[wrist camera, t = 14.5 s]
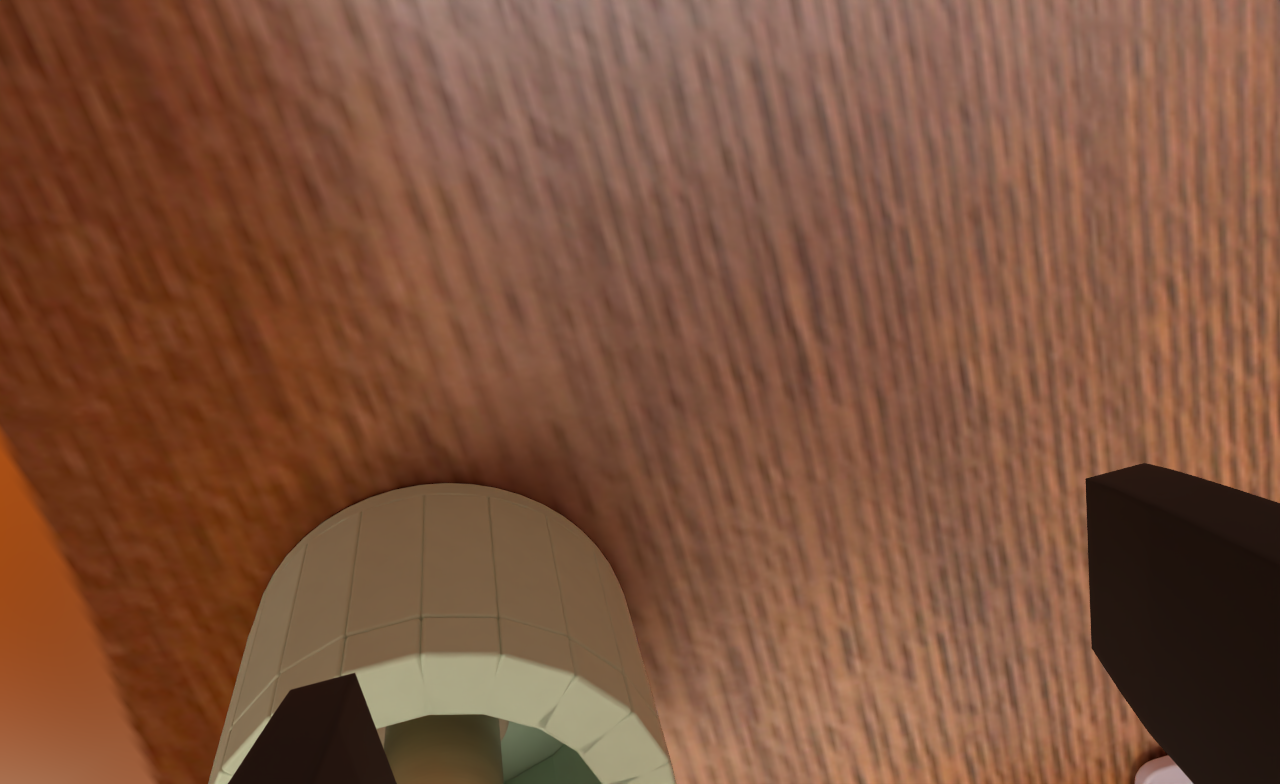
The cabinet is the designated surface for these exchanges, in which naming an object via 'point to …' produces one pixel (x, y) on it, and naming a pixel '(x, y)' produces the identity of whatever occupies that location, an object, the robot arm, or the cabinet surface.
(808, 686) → the cabinet surface
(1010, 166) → the cabinet surface
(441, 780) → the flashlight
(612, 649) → the jar
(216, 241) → the cabinet surface
